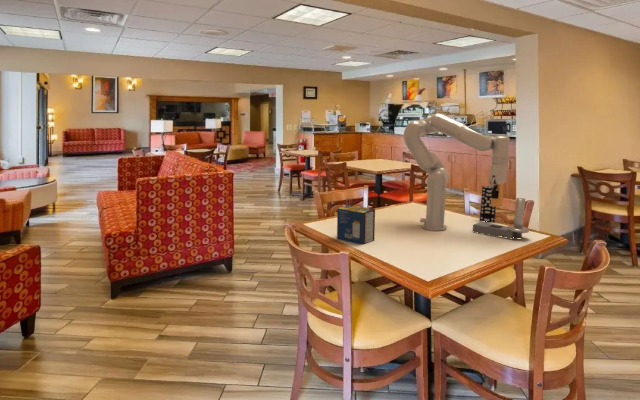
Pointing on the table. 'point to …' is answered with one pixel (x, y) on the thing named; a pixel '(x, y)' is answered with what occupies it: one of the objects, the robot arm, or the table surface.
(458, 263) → the table surface
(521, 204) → the rosette post
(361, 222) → the protein box
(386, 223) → the table surface
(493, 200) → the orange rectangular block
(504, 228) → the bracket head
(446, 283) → the table surface
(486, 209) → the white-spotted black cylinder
